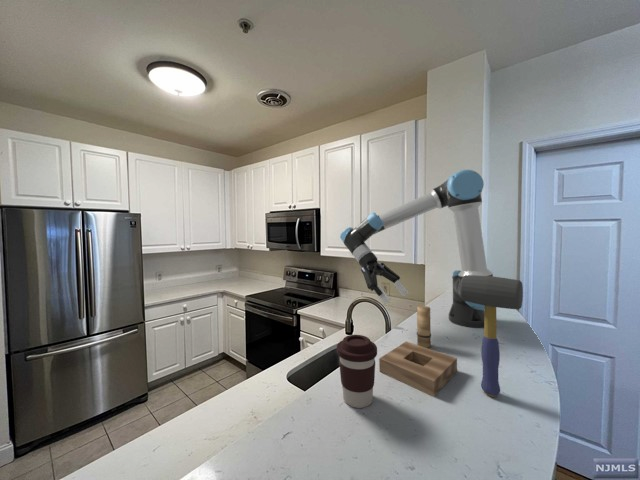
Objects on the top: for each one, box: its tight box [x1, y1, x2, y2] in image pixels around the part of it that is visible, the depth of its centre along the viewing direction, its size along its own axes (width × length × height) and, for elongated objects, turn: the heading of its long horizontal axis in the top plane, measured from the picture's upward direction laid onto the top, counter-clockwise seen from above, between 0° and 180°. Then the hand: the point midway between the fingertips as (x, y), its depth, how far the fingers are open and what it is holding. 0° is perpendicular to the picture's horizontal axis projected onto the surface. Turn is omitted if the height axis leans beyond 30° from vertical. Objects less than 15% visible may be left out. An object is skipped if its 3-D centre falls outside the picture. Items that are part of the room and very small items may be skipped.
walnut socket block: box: [378, 341, 458, 398], centre depth 74 cm, size 16×16×4 cm
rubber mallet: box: [460, 275, 524, 398], centre depth 62 cm, size 12×8×30 cm, turn 45°
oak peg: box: [416, 305, 432, 349], centre depth 89 cm, size 5×5×14 cm
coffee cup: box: [336, 334, 378, 409], centre depth 62 cm, size 10×10×15 cm
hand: (397, 298), depth 96 cm, fingers open, 13 cm apart
